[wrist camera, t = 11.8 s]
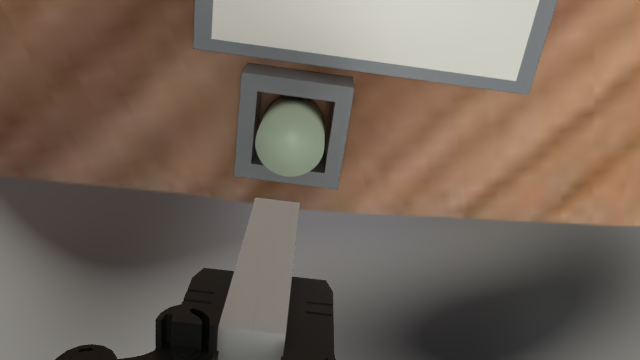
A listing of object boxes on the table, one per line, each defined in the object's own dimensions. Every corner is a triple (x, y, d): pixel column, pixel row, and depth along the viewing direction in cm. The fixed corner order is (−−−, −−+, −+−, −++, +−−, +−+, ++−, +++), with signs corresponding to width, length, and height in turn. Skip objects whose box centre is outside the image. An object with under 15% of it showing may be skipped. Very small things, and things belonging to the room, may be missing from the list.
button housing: (240, 159, 32) (234, 176, 30) (248, 62, 30) (241, 72, 28) (337, 172, 32) (337, 189, 30) (352, 77, 30) (354, 87, 28)
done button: (259, 151, 31) (252, 172, 28) (264, 92, 29) (258, 106, 26) (320, 159, 31) (319, 180, 28) (328, 100, 29) (328, 116, 27)
